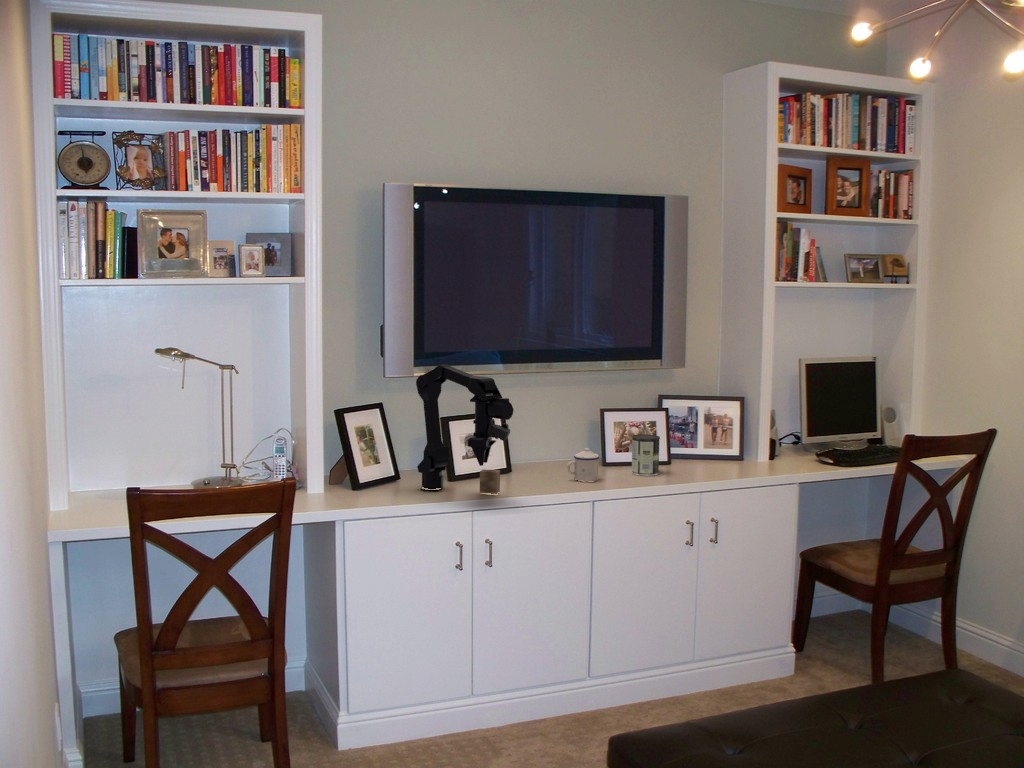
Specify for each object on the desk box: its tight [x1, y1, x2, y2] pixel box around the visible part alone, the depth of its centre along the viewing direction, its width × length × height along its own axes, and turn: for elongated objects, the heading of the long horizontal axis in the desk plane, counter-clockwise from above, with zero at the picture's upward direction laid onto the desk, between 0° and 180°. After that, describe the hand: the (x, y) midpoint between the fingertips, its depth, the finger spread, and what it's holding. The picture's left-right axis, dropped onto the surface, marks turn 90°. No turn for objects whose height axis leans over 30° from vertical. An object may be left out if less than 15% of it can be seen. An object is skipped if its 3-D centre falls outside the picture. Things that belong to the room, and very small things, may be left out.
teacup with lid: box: [566, 447, 600, 482], centre depth 334 cm, size 12×9×12 cm
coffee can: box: [631, 433, 661, 477], centre depth 347 cm, size 10×10×14 cm
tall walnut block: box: [479, 468, 501, 494], centre depth 311 cm, size 6×4×8 cm, turn 77°
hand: (483, 464), depth 302 cm, fingers open, 5 cm apart
